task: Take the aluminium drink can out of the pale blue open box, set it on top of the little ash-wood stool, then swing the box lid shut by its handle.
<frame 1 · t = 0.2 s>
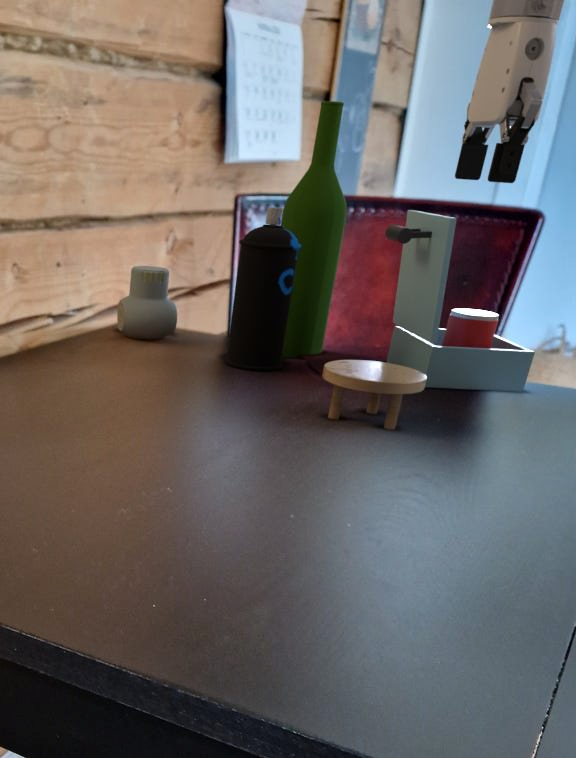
hand: (483, 180, 106), 25 cm above the table, tool pointing down, fingers open, 9 cm apart
wine bottle: (291, 354, 131), on the table
stool: (363, 424, 97), on the table
pale blue open box: (450, 381, 119), on the table
cooler lid: (405, 275, 112), point 13 cm above the table, hinge at 95.0°
drink can: (458, 376, 119), point 1 cm above the table, touching pale blue open box
aerosol can: (252, 366, 122), on the table
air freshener: (144, 337, 136), on the table
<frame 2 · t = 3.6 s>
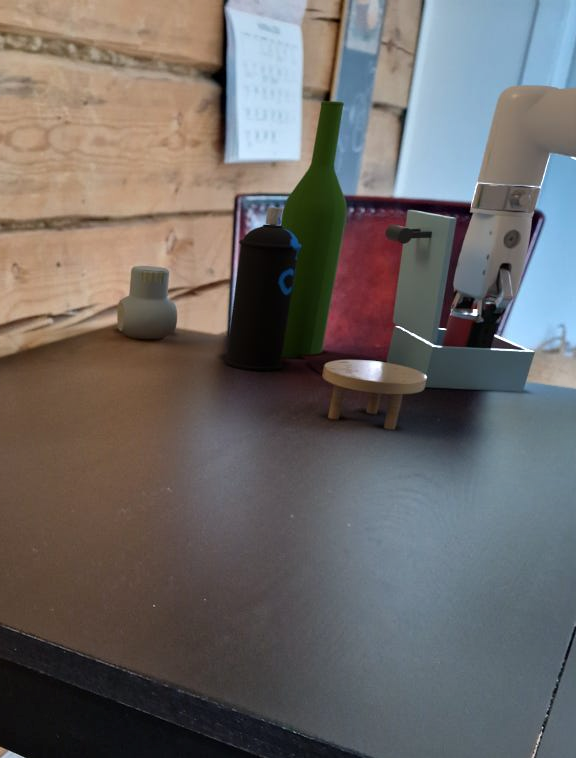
hand: (465, 347, 117), 5 cm above the table, tool pointing down, fingers closed on drink can, 6 cm apart
drink can: (458, 376, 119), point 1 cm above the table, touching pale blue open box, gripper
everything else where it was.
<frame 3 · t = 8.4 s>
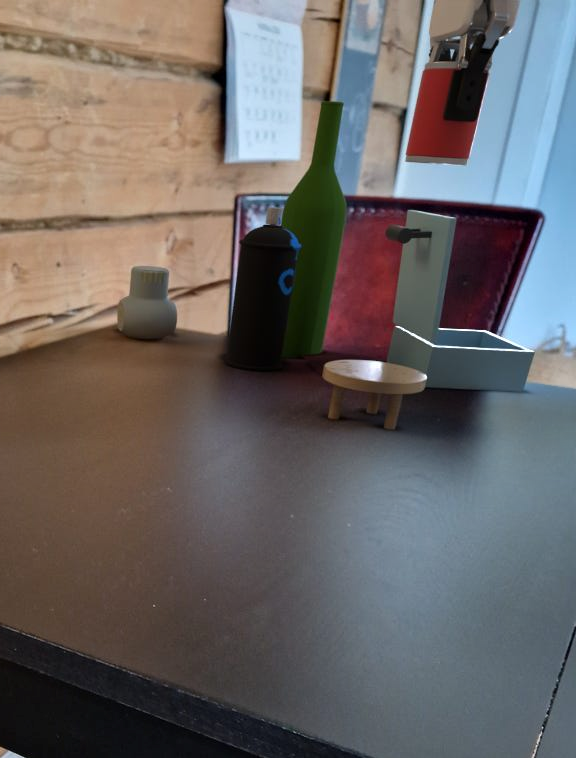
hand: (445, 119, 85), 30 cm above the table, tool pointing down, fingers closed on drink can, 6 cm apart
drink can: (435, 164, 87), point 26 cm above the table, touching gripper
everything else where it was.
when the fingers open (10 cm above the table, at t = 13.5 s): drink can stays where it is, resting on stool.
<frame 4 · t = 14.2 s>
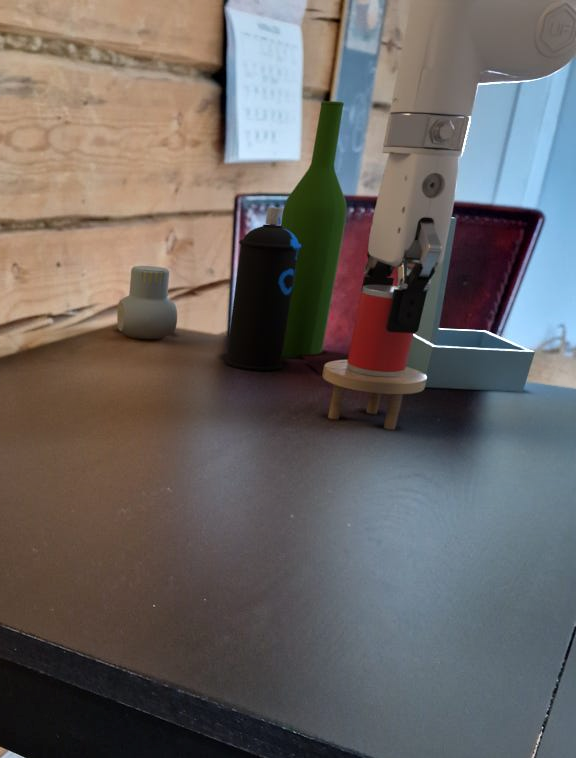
hand: (385, 323, 91), 11 cm above the table, tool pointing down, fingers open, 9 cm apart
drink can: (374, 371, 94), point 6 cm above the table, touching stool
everything else where it was.
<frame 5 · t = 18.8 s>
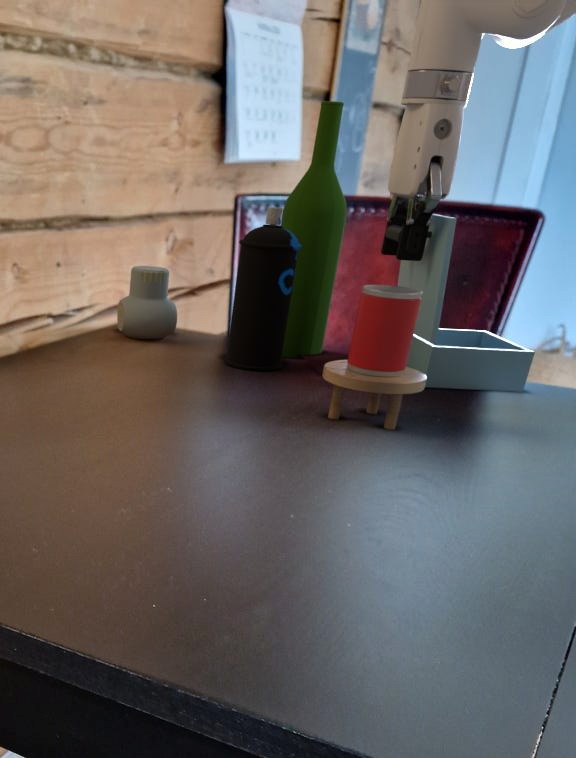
hand: (400, 256, 111), 16 cm above the table, tool pointing down, fingers closed on cooler lid, 5 cm apart
cooler lid: (405, 275, 112), point 13 cm above the table, hinge at 95.0°, touching gripper
everything else where it was.
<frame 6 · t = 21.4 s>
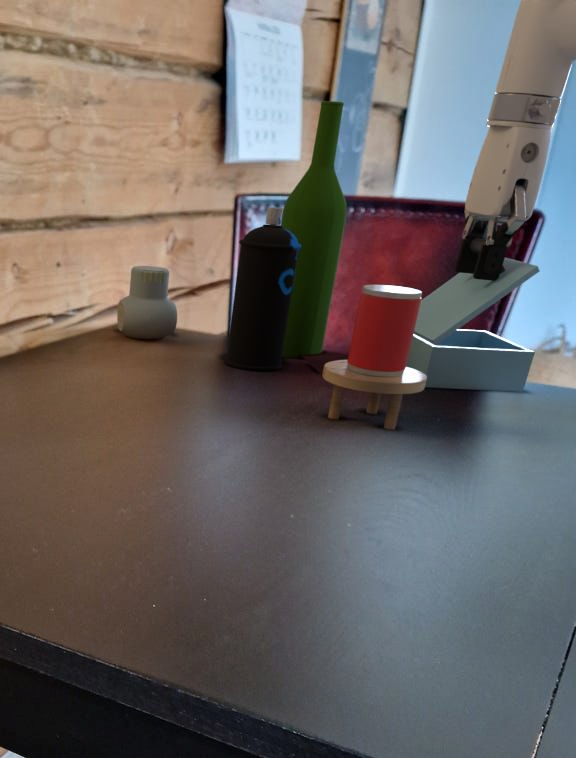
hand: (475, 274, 112), 14 cm above the table, tool pointing down, fingers closed on cooler lid, 5 cm apart
cooler lid: (454, 283, 113), point 13 cm above the table, hinge at 40.7°, touching gripper
everything else where it was.
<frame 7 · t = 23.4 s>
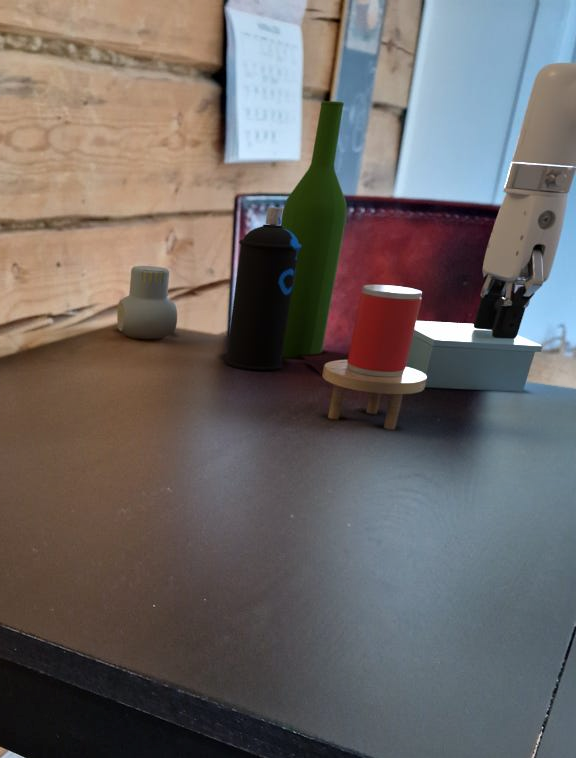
hand: (494, 331, 116), 7 cm above the table, tool pointing down, fingers closed on cooler lid, 5 cm apart
cooler lid: (469, 318, 115), point 8 cm above the table, hinge at -0.2°, touching pale blue open box, gripper
everything else where it was.
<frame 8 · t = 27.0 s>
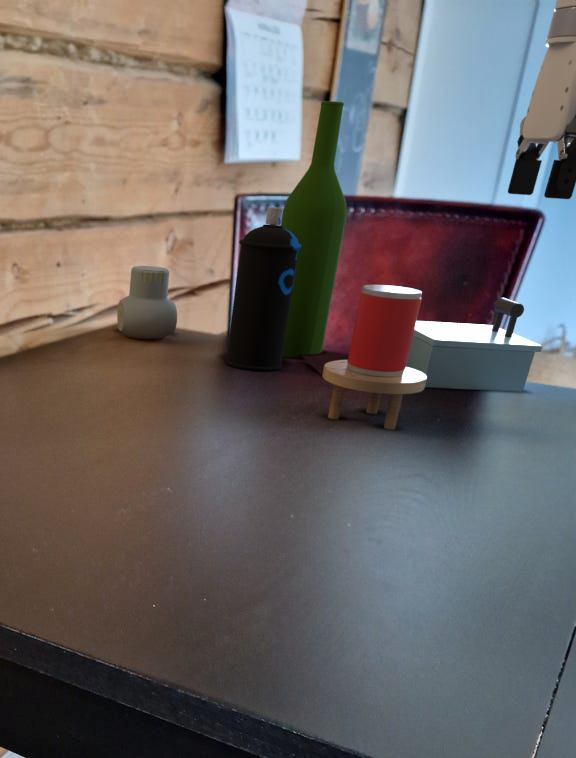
hand: (537, 196, 108), 23 cm above the table, tool pointing down, fingers open, 9 cm apart
cooler lid: (469, 318, 115), point 8 cm above the table, hinge at -0.2°, touching pale blue open box
everything else where it was.
at the end: drink can 0.0 cm off-centre on the stool, point 5.9 cm above the stool's base; drink can tilted 0°; cooler lid at +0° (first picture: +95°) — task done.
